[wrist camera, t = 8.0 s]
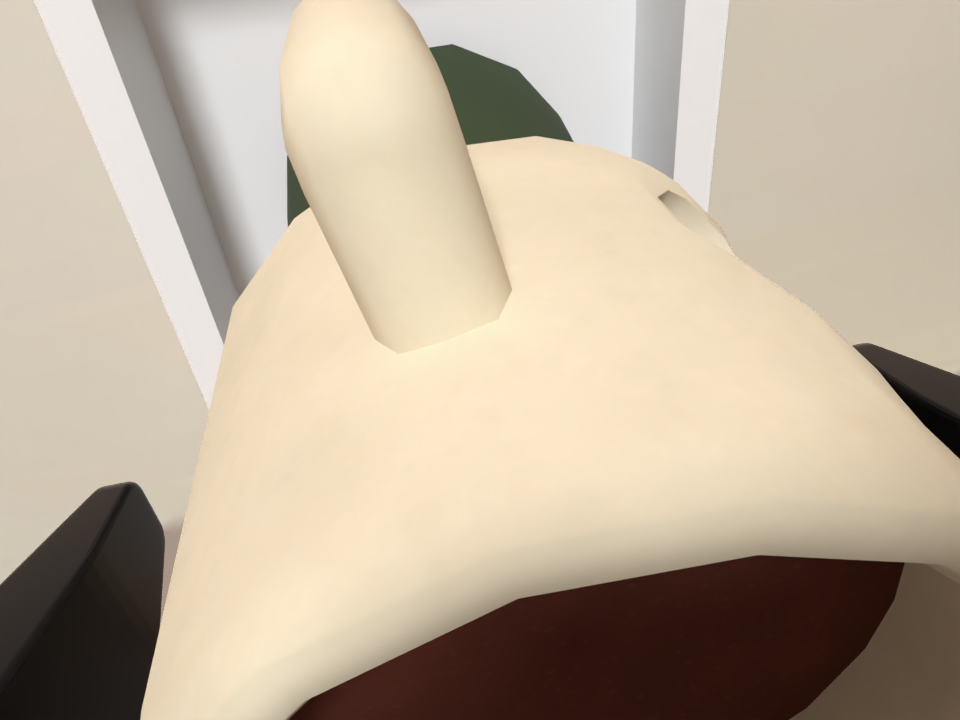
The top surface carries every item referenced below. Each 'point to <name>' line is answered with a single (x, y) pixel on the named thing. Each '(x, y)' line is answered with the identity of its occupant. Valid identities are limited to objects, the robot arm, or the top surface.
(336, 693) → the character mug
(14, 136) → the top surface
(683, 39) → the white open box
